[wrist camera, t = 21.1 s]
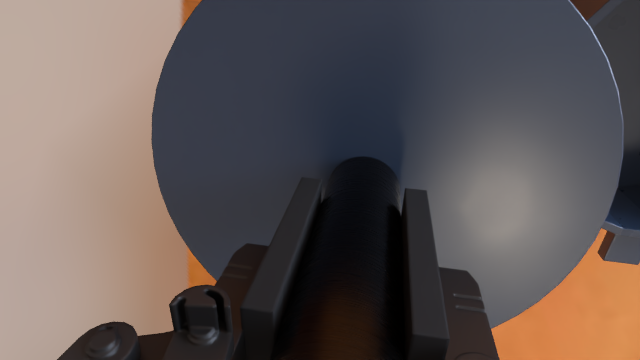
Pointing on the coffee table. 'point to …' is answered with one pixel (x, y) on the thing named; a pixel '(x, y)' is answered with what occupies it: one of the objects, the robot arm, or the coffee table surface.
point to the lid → (389, 149)
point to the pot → (636, 104)
